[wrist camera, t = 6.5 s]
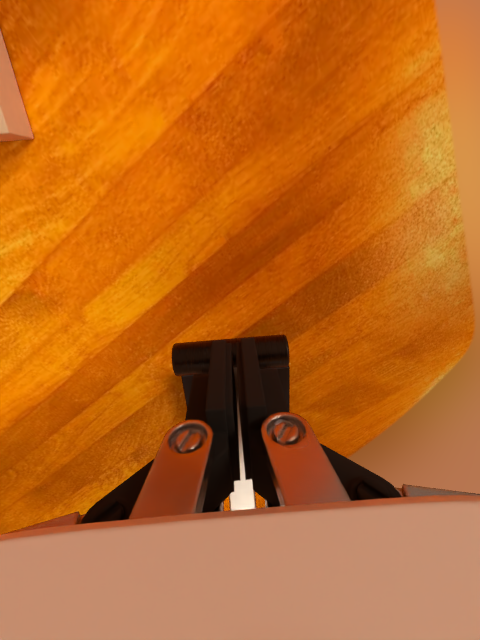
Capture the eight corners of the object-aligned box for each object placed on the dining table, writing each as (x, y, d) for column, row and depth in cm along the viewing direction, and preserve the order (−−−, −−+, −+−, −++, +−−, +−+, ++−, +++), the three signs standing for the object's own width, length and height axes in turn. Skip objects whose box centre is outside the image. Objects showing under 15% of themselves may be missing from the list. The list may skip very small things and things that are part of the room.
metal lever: (179, 343, 15) (167, 344, 12) (281, 334, 15) (289, 334, 12) (201, 648, 14) (193, 713, 11) (308, 637, 14) (323, 700, 12)
